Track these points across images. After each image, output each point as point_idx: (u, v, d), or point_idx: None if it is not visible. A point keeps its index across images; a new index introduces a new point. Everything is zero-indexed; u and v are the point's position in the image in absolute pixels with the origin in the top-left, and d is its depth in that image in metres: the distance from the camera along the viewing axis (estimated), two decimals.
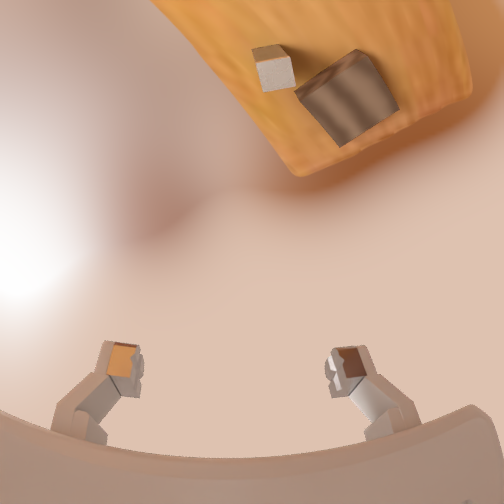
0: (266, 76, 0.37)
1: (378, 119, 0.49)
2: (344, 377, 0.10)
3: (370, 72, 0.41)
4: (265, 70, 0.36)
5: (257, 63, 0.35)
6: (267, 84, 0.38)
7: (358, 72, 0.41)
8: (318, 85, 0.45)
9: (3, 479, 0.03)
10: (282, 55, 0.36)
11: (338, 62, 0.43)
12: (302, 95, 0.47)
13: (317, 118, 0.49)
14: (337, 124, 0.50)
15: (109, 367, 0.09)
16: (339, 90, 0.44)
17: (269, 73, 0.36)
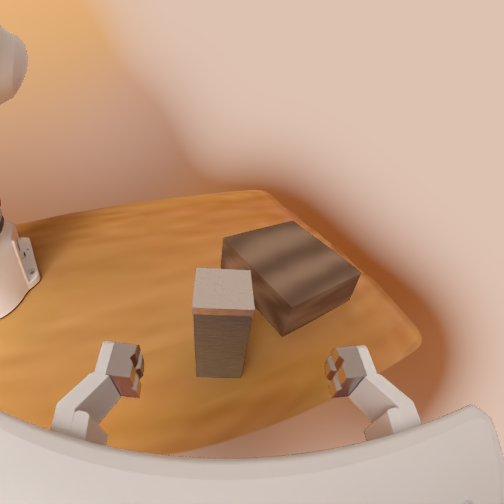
0: (223, 299, 0.24)
1: (310, 237, 0.46)
2: (344, 377, 0.10)
3: (246, 238, 0.44)
4: (210, 298, 0.24)
5: (193, 306, 0.23)
6: (239, 301, 0.24)
7: (245, 246, 0.42)
8: (266, 289, 0.36)
9: (3, 479, 0.03)
10: None
11: None
12: (284, 309, 0.34)
13: (319, 291, 0.36)
14: (325, 271, 0.39)
15: (109, 367, 0.09)
16: (272, 265, 0.39)
17: (218, 295, 0.24)
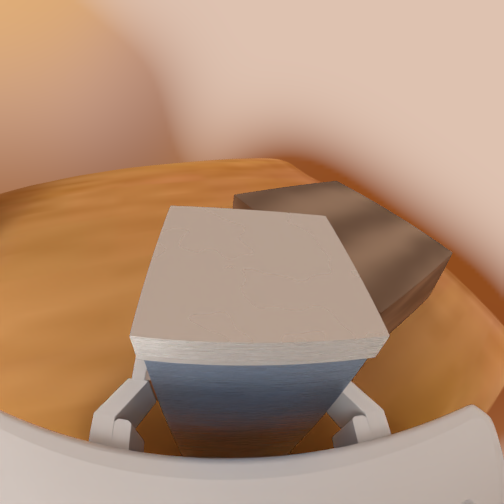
0: (264, 301, 0.06)
1: (368, 201, 0.28)
2: None
3: (272, 196, 0.26)
4: (213, 297, 0.06)
5: (139, 330, 0.05)
6: (328, 306, 0.06)
7: (274, 207, 0.24)
8: None
9: (3, 479, 0.03)
10: None
11: None
12: None
13: (414, 280, 0.18)
14: (409, 249, 0.21)
15: None
16: None
17: (242, 283, 0.06)
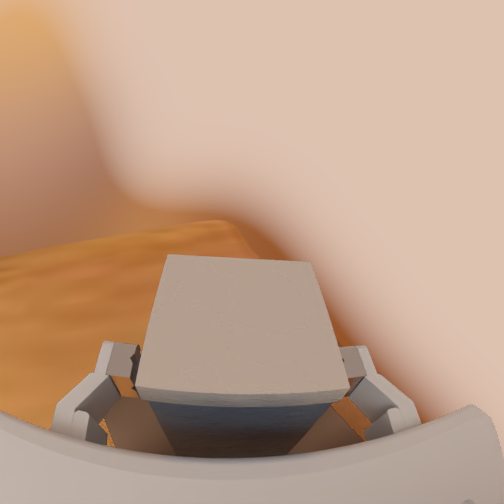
0: (244, 356, 0.07)
1: None
2: None
3: None
4: (201, 352, 0.07)
5: (142, 379, 0.06)
6: (298, 361, 0.07)
7: (126, 404, 0.15)
8: None
9: (3, 479, 0.03)
10: None
11: None
12: None
13: None
14: None
15: (109, 367, 0.09)
16: None
17: (227, 339, 0.07)
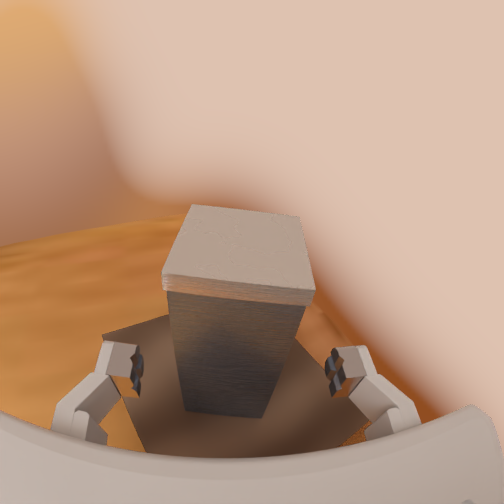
0: (240, 261, 0.10)
1: None
2: (344, 377, 0.10)
3: (142, 337, 0.20)
4: (210, 257, 0.10)
5: None
6: (279, 269, 0.10)
7: None
8: None
9: (3, 479, 0.03)
10: None
11: None
12: None
13: None
14: (291, 431, 0.16)
15: (109, 367, 0.09)
16: (174, 417, 0.15)
17: (229, 252, 0.11)
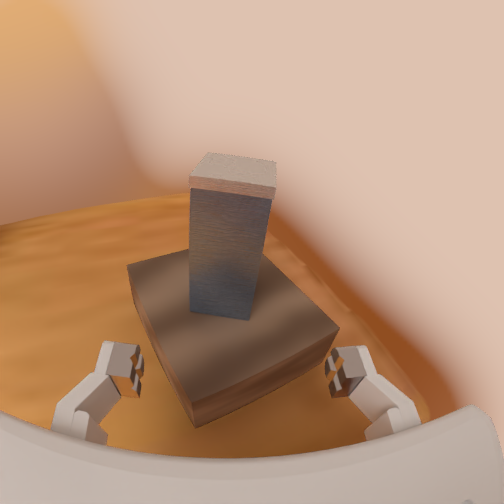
0: (234, 174, 0.17)
1: (264, 262, 0.30)
2: (344, 377, 0.10)
3: (159, 265, 0.28)
4: (217, 171, 0.17)
5: None
6: (256, 178, 0.17)
7: (153, 280, 0.26)
8: (165, 358, 0.20)
9: (3, 479, 0.03)
10: None
11: (146, 330, 0.26)
12: (186, 399, 0.18)
13: (253, 370, 0.19)
14: (274, 329, 0.23)
15: (109, 367, 0.09)
16: (183, 316, 0.23)
17: (229, 170, 0.18)
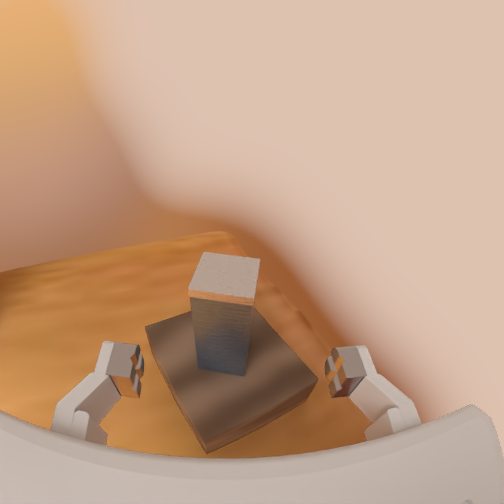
0: (223, 284, 0.23)
1: (259, 320, 0.35)
2: (344, 377, 0.10)
3: (172, 327, 0.33)
4: (210, 282, 0.23)
5: (190, 288, 0.22)
6: (239, 288, 0.22)
7: (168, 341, 0.31)
8: (182, 406, 0.25)
9: (3, 479, 0.03)
10: None
11: (164, 377, 0.32)
12: (199, 436, 0.23)
13: (248, 415, 0.24)
14: (265, 382, 0.28)
15: (109, 367, 0.09)
16: (194, 373, 0.28)
17: (219, 279, 0.23)
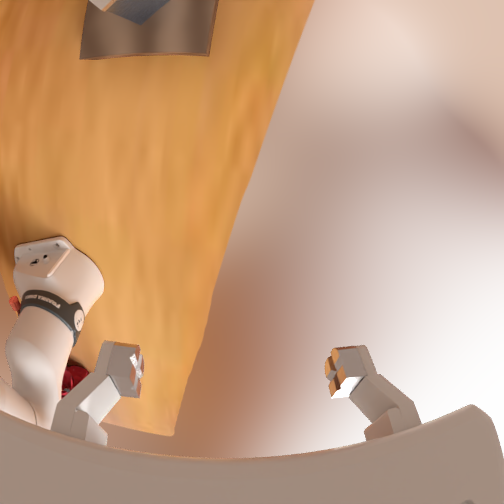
0: None
1: None
2: (344, 377, 0.10)
3: (92, 34, 0.22)
4: None
5: (101, 8, 0.13)
6: None
7: (104, 42, 0.23)
8: (166, 52, 0.26)
9: (3, 479, 0.03)
10: None
11: (127, 56, 0.28)
12: (198, 53, 0.27)
13: (209, 14, 0.23)
14: None
15: (109, 367, 0.09)
16: (146, 31, 0.23)
17: None
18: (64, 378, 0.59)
